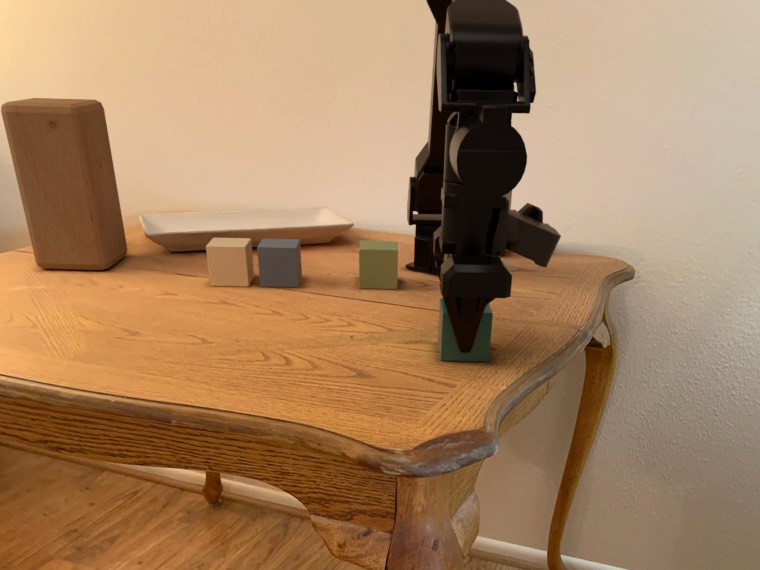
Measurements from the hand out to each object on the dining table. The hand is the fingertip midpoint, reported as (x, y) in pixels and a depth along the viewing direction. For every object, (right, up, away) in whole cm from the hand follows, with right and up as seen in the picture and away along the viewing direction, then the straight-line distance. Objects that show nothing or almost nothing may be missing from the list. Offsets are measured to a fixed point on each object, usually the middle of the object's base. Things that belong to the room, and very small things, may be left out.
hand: (463, 343), depth 80 cm
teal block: (0, -1, +1) cm, 1 cm away
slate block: (-23, +14, +22) cm, 35 cm away
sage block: (-10, +14, +23) cm, 28 cm away
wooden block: (-52, +19, +29) cm, 62 cm away
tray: (-31, +27, +43) cm, 60 cm away
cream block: (-29, +14, +22) cm, 39 cm away
